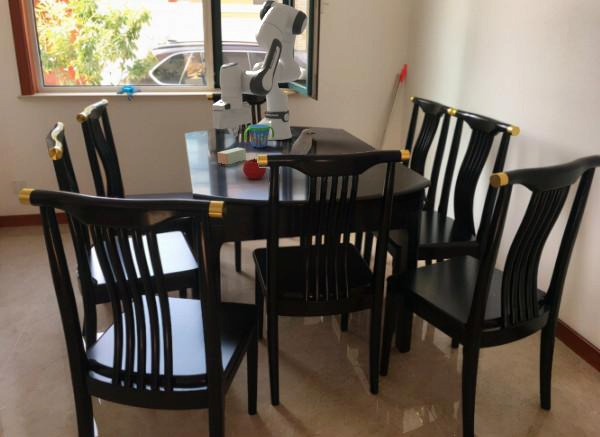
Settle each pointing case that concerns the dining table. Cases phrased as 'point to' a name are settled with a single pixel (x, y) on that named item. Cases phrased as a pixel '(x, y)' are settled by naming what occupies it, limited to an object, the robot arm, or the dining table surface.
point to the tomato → (253, 169)
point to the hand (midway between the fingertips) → (233, 136)
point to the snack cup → (258, 135)
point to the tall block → (231, 155)
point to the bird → (303, 142)
